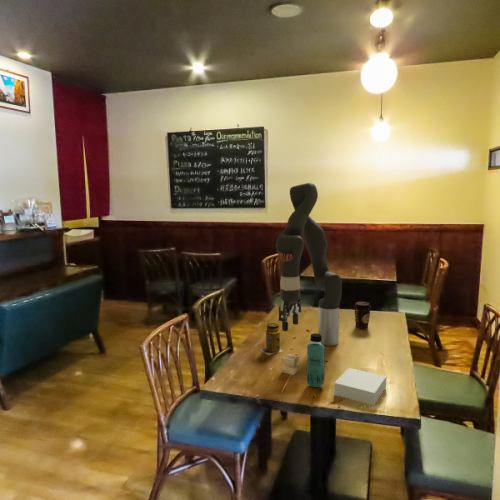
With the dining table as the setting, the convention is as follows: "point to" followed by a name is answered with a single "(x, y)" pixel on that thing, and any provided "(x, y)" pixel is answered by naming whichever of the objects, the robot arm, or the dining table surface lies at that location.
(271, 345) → the condiment
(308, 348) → the beverage bottle
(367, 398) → the base block
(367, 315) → the coffee cup
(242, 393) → the dining table surface
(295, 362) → the maple block
